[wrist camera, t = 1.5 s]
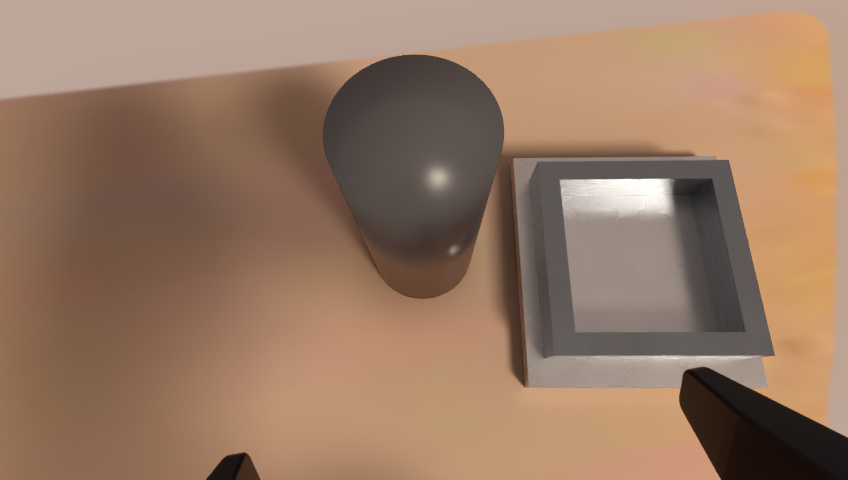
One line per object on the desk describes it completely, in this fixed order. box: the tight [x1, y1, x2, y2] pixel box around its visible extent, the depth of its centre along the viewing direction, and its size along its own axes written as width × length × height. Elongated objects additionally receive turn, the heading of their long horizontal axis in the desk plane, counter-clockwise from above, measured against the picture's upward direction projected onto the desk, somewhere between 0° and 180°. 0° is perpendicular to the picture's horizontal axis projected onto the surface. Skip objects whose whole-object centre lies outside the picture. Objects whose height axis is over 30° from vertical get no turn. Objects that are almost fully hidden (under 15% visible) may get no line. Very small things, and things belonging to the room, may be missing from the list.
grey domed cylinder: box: [323, 55, 504, 299], centre depth 19 cm, size 5×5×12 cm
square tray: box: [510, 156, 775, 388], centre depth 22 cm, size 12×11×3 cm
